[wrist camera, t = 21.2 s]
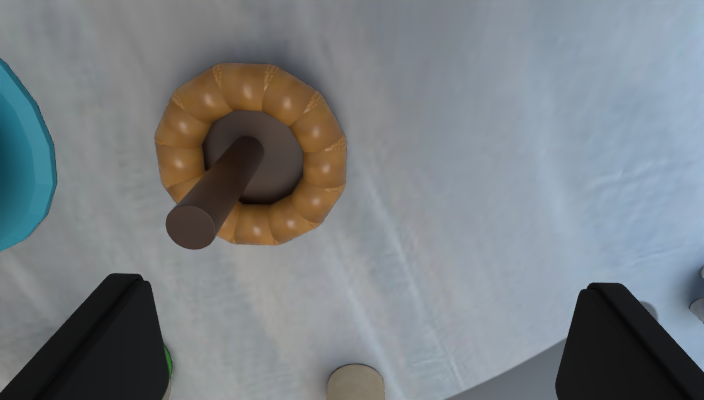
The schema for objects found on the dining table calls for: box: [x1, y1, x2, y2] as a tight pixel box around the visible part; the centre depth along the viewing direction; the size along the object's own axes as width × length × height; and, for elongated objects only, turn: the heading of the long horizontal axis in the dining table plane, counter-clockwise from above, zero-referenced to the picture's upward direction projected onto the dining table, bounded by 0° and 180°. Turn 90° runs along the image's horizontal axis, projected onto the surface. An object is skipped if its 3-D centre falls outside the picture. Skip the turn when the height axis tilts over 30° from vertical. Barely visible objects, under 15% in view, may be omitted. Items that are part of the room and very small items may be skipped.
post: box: [166, 110, 303, 250], centre depth 27 cm, size 9×9×14 cm
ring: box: [155, 63, 347, 245], centre depth 31 cm, size 13×13×3 cm
